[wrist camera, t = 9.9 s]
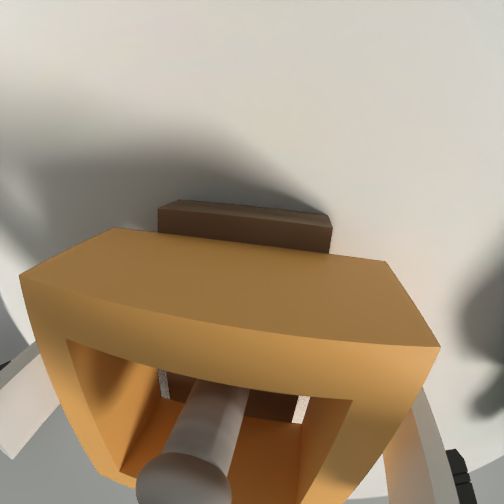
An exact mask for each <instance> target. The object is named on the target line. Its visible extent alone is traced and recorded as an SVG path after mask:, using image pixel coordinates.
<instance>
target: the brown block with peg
mask: <svg viewBox="0 0 504 504" xmlns="http://www.w3.org/2000/svg"><path fill="white" fill-rule="evenodd" d="M332 229H333V227H332V225H331V222H330V220H329V217H328V215H320V214H313V213H305V212H297V211H289V210H280V209H271V208H262V207H253V206H244V205H234V204H223V203H213V202H201V201H189V200H177V201H175V202H172V203H170V204H167V205H165V206H163V207H160V208H158V233H165V234H173V235H182V236H190V237H198V238H206V239H215V240H223V241H231V242H239V243H247V244H255V245H263V246H271V247H279V248H287V249H295V250H303V251H310V252H318V253H326V254H329V249H330V242H331V236H332ZM167 378H168V386H169V393H170V400H174V401H177V402H181V403H185V405H184V407H183V409H182V411H181V413H180V415H179V417H178V419H177V421H176V423H175V425H174V428H173V430H172V432H171V434H170V436H169V438H168V440H167V442H166V444H165V446H164V448H163V451H162V453H161V455H158V456H156V457H155V458H153V459H151V460H150V461H149V462H147V463H146V464H145V465H144V467H143V468H142V469H141V471H140V472H139V475H138V477H137V480H136V496H137V500H138V503H139V504H231V500H232V493H231V487H230V484H229V482H228V479H227V475H228V471H229V468H230V464H231V460H232V457H233V453H234V449H235V446H236V442H237V438H238V434H239V431H240V427H241V423H242V419H243V416H247V417H253V418H259V419H266V420H273V421H280V422H289V423H291V422H292V419H293V415H294V411H295V408H296V404H297V400H298V396H299V395H291V394H283V393H276V392H268V391H262V390H255V389H249V388H243V387H238V386H232V385H227V384H222V383H216V382H212V381H207V380H202V379H198V378H193V377H189V376H185V375H181V374H176V373H172V372H169V371H167Z"/></svg>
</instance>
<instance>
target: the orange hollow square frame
mask: <svg viewBox="0 0 504 504" xmlns="http://www.w3.org/2000/svg"><path fill="white" fill-rule="evenodd" d="M19 279H20V284H21V288H22V293H23V297H24V301H25V305H26V309H27V313H28V316H29V320H30V323H31V327H32V330H33V333H34V336H35V339H36V343H37V346H38V348H39V351H40V354H41V357H42V360H43V363H44V365H45V368H46V370H47V373H48V376H49V378H50V381H51V383H52V385H53V388H54V390H55V392H56V395H57V397H58V399H59V401H60V404H61V406H62V408H63V410H64V412H65V414H66V416H67V418H68V420H69V422H70V424H71V426H72V428H73V430H74V432H75V434H76V435H77V437H78V439H79V441H80V443H81V445H82V446H83V448H84V450H85V452H86V453H87V455H88V457H89V459H90V460H91V462H92V463H93V465H94V467H95V468H96V470H97V471H98V473H99V474H101V475H103V476H105V477H107V478H109V479H112V480H114V481H116V482H118V483H121V484H123V485H125V486H128V487H131V488H133V489H136V480H137V477H138V475H139V472H140V471H141V469H142V468H143V467H144V465H145V464H146V463H147V462H149V461H150V460H151V459H153V458H155V457H156V456H158V455H161V453H162V451H163V448H164V446H165V444H166V442H167V440H168V438H169V436H170V434H171V432H172V430H173V428H174V425H175V423H176V421H177V419H178V417H179V415H180V413H181V411H182V409H183V407H184V405H185V403H181V402H177V401H174V400H170V399H166V398H163V397H161V391H160V385H159V378H158V371H157V369H161V370H165V371H169V372H172V373H176V374H181V375H185V376H189V377H193V378H198V379H202V380H207V381H212V382H216V383H222V384H227V385H232V386H238V387H243V388H249V389H255V390H262V391H268V392H276V393H283V394H291V395H300V396H309V397H310V400H309V403H308V406H307V410H306V413H305V416H304V419H303V422H302V424H298V423H289V422H280V421H273V420H266V419H259V418H253V417H247V416H243V419H242V423H241V427H240V431H239V434H238V438H237V442H236V446H235V449H234V453H233V457H232V460H231V464H230V468H229V471H228V475H227V479H228V482H229V484H230V487H231V493H232V500H231V504H343V503H344V502H345V501H346V499H347V498H348V497H349V496H350V495H351V494H352V492H353V491H354V490H355V489H356V487H357V486H358V485H359V484H360V482H361V481H362V480H363V479H364V477H365V476H366V475H367V473H368V472H369V471H370V469H371V468H372V467H373V465H374V464H375V463H376V461H377V460H378V458H379V457H380V456H381V454H382V453H383V451H384V450H385V448H386V447H387V445H388V444H389V442H390V441H391V439H392V438H393V436H394V435H395V433H396V431H397V430H398V428H399V427H400V425H401V423H402V422H403V420H404V418H405V417H406V415H407V413H408V412H409V410H410V408H411V406H412V405H413V403H414V401H415V399H416V397H417V396H418V394H419V392H420V390H421V388H422V386H423V384H424V382H425V380H426V378H427V376H428V374H429V372H430V370H431V368H432V366H433V364H434V362H435V359H436V357H437V355H438V353H439V351H440V348H441V346H440V345H439V343H438V341H437V339H436V338H435V336H434V334H433V333H432V331H431V329H430V328H429V326H428V325H427V323H426V321H425V320H424V318H423V316H422V315H421V313H420V312H419V310H418V309H417V307H416V305H415V304H414V302H413V301H412V299H411V298H410V296H409V295H408V293H407V292H406V290H405V289H404V287H403V286H402V284H401V283H400V281H399V280H398V278H397V277H396V275H395V274H394V273H393V271H392V270H391V268H390V267H389V265H388V264H387V263H386V261H379V260H372V259H364V258H357V257H349V256H341V255H334V254H326V253H318V252H310V251H303V250H295V249H287V248H279V247H271V246H263V245H255V244H247V243H239V242H231V241H223V240H215V239H206V238H198V237H190V236H182V235H173V234H165V233H156V232H148V231H139V230H131V229H122V228H112V229H109V230H107V231H105V232H103V233H101V234H99V235H96V236H94V237H92V238H90V239H88V240H86V241H84V242H82V243H80V244H78V245H76V246H74V247H72V248H70V249H68V250H66V251H64V252H62V253H60V254H58V255H56V256H54V257H52V258H50V259H48V260H46V261H44V262H42V263H40V264H38V265H36V266H35V267H33V268H31V269H29V270H27V271H25V272H23V273H22V274H20V275H19Z"/></svg>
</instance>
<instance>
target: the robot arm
mask: <svg viewBox="0 0 504 504" xmlns="http://www.w3.org/2000/svg"><path fill="white" fill-rule="evenodd" d="M59 404H60V401H59V399H58V397H57V395H56V392H55V390H54V388H53V385H52V383H51V381H50V378H49V376H48V373H47V370H46V368H45V365H44V363H43V360H42V357H41V354H40V351H39V348H38V346H37V343H36V341H35V342H34V343H32V344H31V345H30V346H29V347H28V348H27V349H25V350H24V351H23V352H22V353H20V354H19V355H18V356H17V357H16V358H15V359H13V360H12V361H8V362H6V363H4V364H2V365H0V450H1V451H2V452H4V453H5V454H6V455H7V456H9V457H10V458H11V459H14V457H15V456H16V455H17V454H18V453H19V451H20V450H21V449H22V447H23V446H24V445H25V444H26V443H27V441H28V440H29V439H30V438H31V437H32V435H33V434H34V433H35V432H36V431H37V429H38V428H39V427H40V426H41V425H42V424H43V422H44V421H45V420H46V419H47V417H49V415H50V414H51V413H52V412H53V411H54V410H55V408H56V407H57V406H58V405H59ZM383 458H384V465H385V472H386V479H387V487H388V496H389V504H477V501H476V498H475V494H474V490H473V486H472V483H470V481H471V480H470V476H469V473H467V472H468V470H467V467H466V464H465V461H464V458H463V457H462V456H461V455H460V454H459V452H458V451H457V450H456V449H452V450H446V451H445V449H444V446H443V443H442V439H441V436H440V433H439V430H438V428H437V425H436V422H435V419H434V416H433V413H432V411H431V408H430V405H429V402H428V400H427V397H426V395H425V392H424V389H423V387H422V388H421V390H420V392H419V394H418V396H417V397H416V399H415V401H414V403H413V405H412V406H411V408H410V410H409V412H408V413H407V415H406V417H405V418H404V420H403V422H402V423H401V425H400V427H399V428H398V430H397V431H396V433H395V435H394V436H393V438H392V439H391V441H390V442H389V444H388V445H387V447H386V448H385V450H384V451H383Z"/></svg>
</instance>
